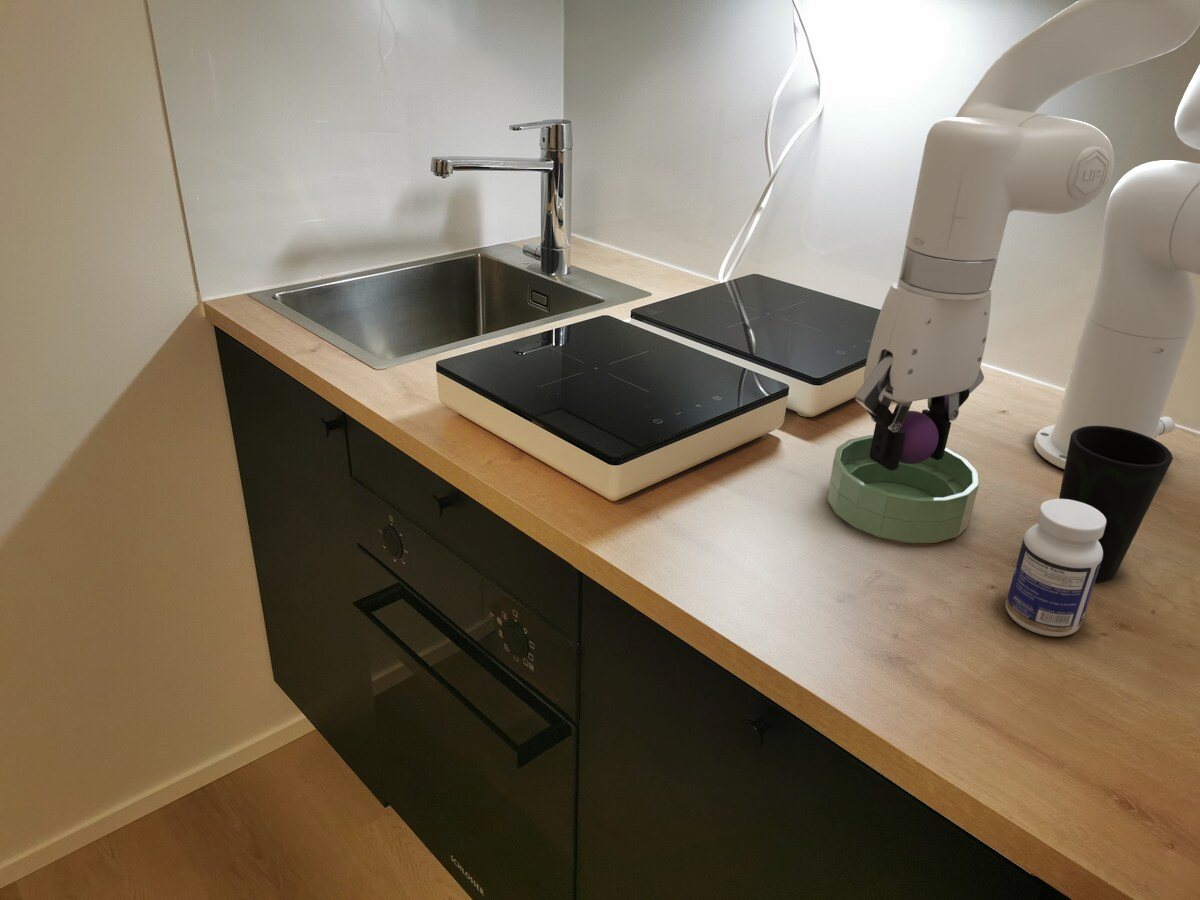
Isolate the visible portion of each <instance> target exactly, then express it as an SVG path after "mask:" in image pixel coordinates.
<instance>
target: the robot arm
mask: <svg viewBox="0 0 1200 900" xmlns="http://www.w3.org/2000/svg"><path fill="white" fill-rule="evenodd" d="M1199 27H1200V0H1077V1H1076V2H1074V3H1072V4H1070V5H1068V6H1067V7H1066V8H1064V9H1062V10H1061V11H1060V12H1058V13H1057V14H1055V15H1053V16H1052V17H1050V18H1049V19H1048V20H1046V21H1045V22H1043V23H1042V24H1041V25H1039V26H1038V27H1036V28H1035V29H1033V30H1032V31H1031V32H1029V33H1028V34H1026V35H1025V36H1023V37H1022V38H1020V39H1019V40H1018V41H1016V43H1014V44H1013V45H1011V46H1010V47H1009V48H1008V49H1007V50H1006V51H1004V52H1003V53H1002V54H1001V55H1000V56H999V57H998V58H997V59H996V60H995V61H994V62H993V63H992V64H991V66H990V67H989V68H988V69H987V70H986V72H985V73H984V74H983V76H982V77H981V78H980V80H978V82H977V84H976V85H975V87H974V88H973V89H972V91H971V92H970V94H968V96H967V98H966V99H965V100H964V102H963V104H962V105H961V106H960V108H959V110H958V111H957V113H956V115H955V116H954V117H946V118H942V119H940V120H938V121H936V122H935V123H933V125H932V126H931V127H930V129H929V131H928V133H927V135H926V139H925V143H924V148H923V153H922V158H921V164H920V169H919V173H918V178H917V183H916V184H917V185H916V188H915V189H916V190H915V195H914V201H913V205H912V212H911V216H910V221H909V226H908V230H907V236H906V239H905V246H904V250H903V256H902V261H901V266H900V272H899V277H898V281H897V282H895V283H891V285H890V287H889V289H888V292H887V294H886V296H885V298H884V301H883V302H882V303H883V304H882V306H881V308H880V312H879V315H878V318H877V320H876V323H875V327H874V330H873V334H872V337H871V342H870V345H869V349H868V354H867V358H866V363H865V367H864V372H863V383H862V384H861V386H860V388H859V389H858V390H857V392H856V393H855V395H854V400H855V401H856V402H857V403H858V404H859V405H860V406H862V408H863V409H865V411H866V412H867V413H868V414H869V416H870V419H871V421H872V422H874V423H875V424H874V430H873V434H872V435H873V440H872V445H871V450H870V458H871V459H872V460H874V461H876V462H877V463H879V464H880V465H882V466H883V467H885V468H887V469H888V470H890V471H893V470H896V469H897V468H898V465H899V460H900V456H901V451H902V447H903V442H904V437H905V432H903V431H902V430H900V429H901V427H902V425H903V422H904V420H905V418H906V415H907V413H908V411H910V409H911V406H912V404H913V402H917V401H923V400H927V408H926V409H922V411H921V413H923V414H925V415H927V416H928V417H929V418H930V419H931V420H932V421H933V422H934V423H935V425H936V427H937V430H938V435H939V439H938V444H937V447H936V449H935V451H934V452H933V454H932V455H931V456H930V457H932V458H933V459H935V460H939V459H942V458H943V456H944V451H945V448H947V444H948V438H949V434H950V430H951V426H952V421H955V420H956V419H957V418H958V416H959V413H960V407H962V405H963V404H964V403H965V402H966V401H967V400H968V398H969V397H970V394H972V393H973V392H974V391H975V390H976V389H977V388H978V387H979V386H980V385H981V384H982V383H983V381H984V379H985V376H984V373H983V371H982V368H981V366H982V361H983V357H984V354H985V348H986V343H987V337H988V333H989V332H988V330H989V325H990V324H989V323H990V317H991V307H992V284H993V278H994V275H995V271H996V267H997V264H998V258H999V255H1000V251H1001V247H1002V242H1003V238H1004V234H1005V230H1006V226H1007V222H1008V218H1009V215H1010V213H1011V212H1014V211H1018V212H1019V211H1020V212H1029V213H1035V214H1036V213H1037V214H1045V215H1061V214H1067V213H1071V212H1074V211H1076V210H1080V209H1081V208H1083V207H1085V206H1087V205H1088V204H1090V203H1091V202H1093V201H1094V200H1095V199H1096V198H1097V197H1098V196H1100V194H1101V193H1102V192H1103V191H1104V189H1105V188H1106V186H1108V184H1109V181H1110V179H1111V178H1112V174H1113V171H1114V167H1115V152H1114V149H1113V148H1114V147H1113V146H1112V143H1111V141H1110V139H1109V138H1108V137H1107V136H1106V134H1105V133H1104V132H1103V131H1102V130H1100V129H1099V128H1097V127H1096V126H1094V125H1092V124H1090V123H1087V122H1085V121H1081V120H1077V119H1073V118H1068V117H1060V116H1053V115H1048V114H1045V113H1039V112H1037V111H1038V110H1039V109H1040V108H1042V106H1044V105H1045V104H1046V103H1047V102H1048V101H1049V100H1051V99H1052V98H1054V97H1055V96H1057V95H1058V94H1060V93H1062V92H1063V91H1065V90H1067V89H1069V88H1070V87H1072V86H1074V85H1077V84H1079V83H1081V82H1083V81H1085V80H1088V79H1090V78H1094V77H1096V76H1097V77H1098V76H1100V75H1103V74H1107V73H1110V72H1113V71H1116V70H1120V69H1123V68H1127V67H1130V66H1133V65H1136V64H1140V63H1144V62H1145V61H1148V60H1152V59H1154V58H1157V57H1161V56H1163V55H1165V54H1168V53H1170V52H1172V51H1175V50H1177V49H1178V48H1180V47H1181V46H1183V45H1184V44H1185V43H1187V42H1188V41H1189V40H1190V39H1191V38H1192V37H1193V35H1194V34H1195V32H1196V31H1197V30H1198V28H1199ZM1174 131H1175V133H1176V136H1177V138H1178V139H1179V140H1180V141H1181V142H1182V143H1183V144H1184V145H1186V146H1188V147H1190V148H1192V149H1195V150H1198V151H1200V64H1199V65H1198V66H1197V68H1196V71H1195V73H1194V74H1193V76H1192V78H1191V80H1190V82H1189V84H1188V85H1187V88H1186V89H1185V91H1184V94H1183V96H1182V98H1181V100H1180V103H1179V105H1178V108H1177V110H1176V113H1175V118H1174ZM1104 212H1105V213H1104V219H1103V229H1102V230H1103V231H1102V246H1101V254H1100V262H1099V268H1098V272H1097V277H1096V281H1095V285H1094V288H1093V292H1092V296H1091V299H1090V302H1089V307H1088V310H1087V313H1086V316H1085V320H1084V323H1083V327H1082V331H1081V334H1080V337H1079V340H1078V343H1077V347H1076V351H1075V354H1074V358H1073V361H1072V365H1071V368H1070V371H1069V375H1068V379H1067V382H1066V385H1065V389H1064V391H1063V392H1064V393H1063V396H1062V399H1061V403H1060V406H1059V409H1058V412H1057V416H1056V420H1055V424H1050V425H1048V426H1044V427H1042V428H1041V429H1038V431H1037V433H1036V434H1035V438H1034V441H1033V445H1034V448H1035V450H1036V452H1037V453H1038V454H1039V455H1040V456H1041V457H1042V458H1043V459H1044V460H1046V461H1048V462H1049V464H1050V463H1051V464H1052V465H1054V466H1056V467H1057V468H1060V469H1062V470H1064V469H1065V464H1066V458H1067V453H1068V448H1069V443H1070V437H1071V434H1072V433H1073V431H1075V430H1077V429H1079V428H1081V427H1086V426H1109V427H1116V428H1122V429H1126V430H1130V431H1134V432H1137V433H1140V434H1143V435H1145V436H1148V437H1150V438H1152V439H1154V440H1156V438H1157V437H1158V436H1161V435H1166V434H1169V433H1172V432H1174V430H1175V427H1176V424H1175V421H1174V419H1173V418H1172V417H1170V416H1168V415H1167V416H1165V415H1164V416H1162V415H1163V412H1164V409H1165V406H1166V403H1167V400H1168V398H1169V394H1170V392H1171V389H1172V386H1173V383H1174V380H1175V377H1176V374H1177V372H1178V368H1179V365H1180V364H1181V360H1182V357H1183V354H1184V351H1185V349H1186V346H1187V343H1188V340H1189V338H1190V334H1191V332H1192V329H1193V326H1194V323H1195V319H1196V315H1197V307H1198V306H1197V301H1198V300H1197V299H1198V298H1197V292H1196V286H1195V282H1194V279H1193V275H1192V273H1193V274H1195V275H1199V276H1200V163H1197V162H1196V163H1195V162H1191V161H1186V160H1185V161H1184V160H1174V159H1173V160H1171V159H1169V160H1168V159H1164V160H1161V159H1160V160H1153V161H1149V162H1145V163H1143V164H1140V165H1138V166H1136V167H1133V168H1132V169H1131V170H1129V171H1127V172H1126V173H1125V174H1124V175H1123V176H1122V177H1121V178H1120V179H1119V180H1118V181H1117V183H1116V184H1115V186H1114V187H1113V188H1112V190H1111V193H1110V195H1109V198H1108V200H1107V203H1106V207H1105V211H1104ZM892 402H894V403H895V404H896V405H895V408H894V410H893V412H892V411H891V409H890V408H889V407H890V406H891V403H892Z"/></svg>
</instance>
